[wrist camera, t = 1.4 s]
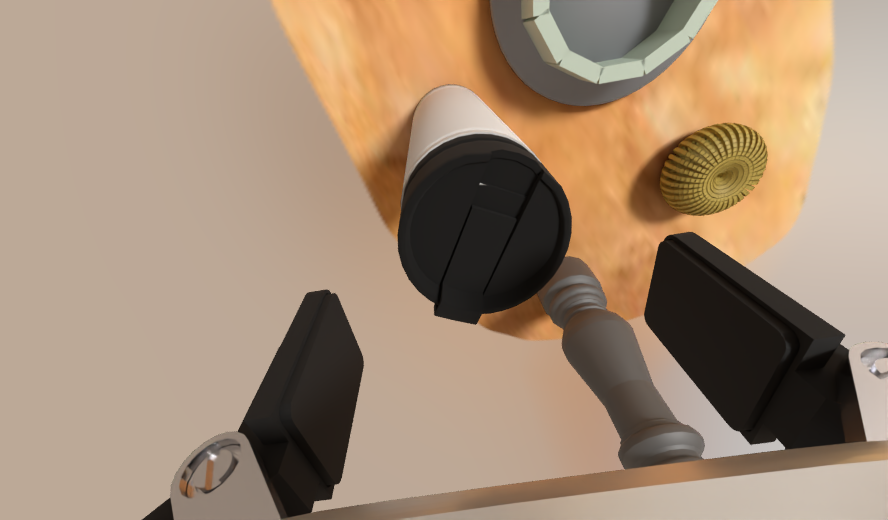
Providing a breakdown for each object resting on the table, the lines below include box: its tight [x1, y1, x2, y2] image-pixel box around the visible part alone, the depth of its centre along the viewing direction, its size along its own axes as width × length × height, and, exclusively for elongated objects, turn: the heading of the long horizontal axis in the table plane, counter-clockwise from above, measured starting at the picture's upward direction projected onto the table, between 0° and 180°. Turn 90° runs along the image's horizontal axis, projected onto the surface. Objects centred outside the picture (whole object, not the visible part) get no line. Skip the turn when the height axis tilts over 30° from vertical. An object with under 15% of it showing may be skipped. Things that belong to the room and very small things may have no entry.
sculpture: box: [660, 123, 767, 216], centre depth 29 cm, size 8×4×8 cm
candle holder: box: [537, 256, 705, 469], centre depth 27 cm, size 6×6×25 cm
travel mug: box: [398, 84, 572, 325], centre depth 20 cm, size 6×7×20 cm
